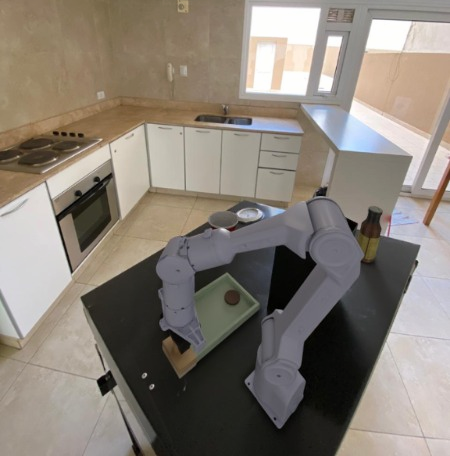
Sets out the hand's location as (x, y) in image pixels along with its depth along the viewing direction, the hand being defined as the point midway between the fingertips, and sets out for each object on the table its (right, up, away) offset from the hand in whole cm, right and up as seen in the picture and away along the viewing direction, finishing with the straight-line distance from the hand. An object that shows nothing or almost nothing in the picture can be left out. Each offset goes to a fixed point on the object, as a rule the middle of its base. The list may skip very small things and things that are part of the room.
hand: (180, 343), depth 52 cm
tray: (+6, -3, +15) cm, 16 cm away
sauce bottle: (+58, +3, +37) cm, 69 cm away
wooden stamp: (-1, -4, +1) cm, 4 cm away
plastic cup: (+8, +6, +40) cm, 41 cm away
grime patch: (+11, -1, +19) cm, 22 cm away
